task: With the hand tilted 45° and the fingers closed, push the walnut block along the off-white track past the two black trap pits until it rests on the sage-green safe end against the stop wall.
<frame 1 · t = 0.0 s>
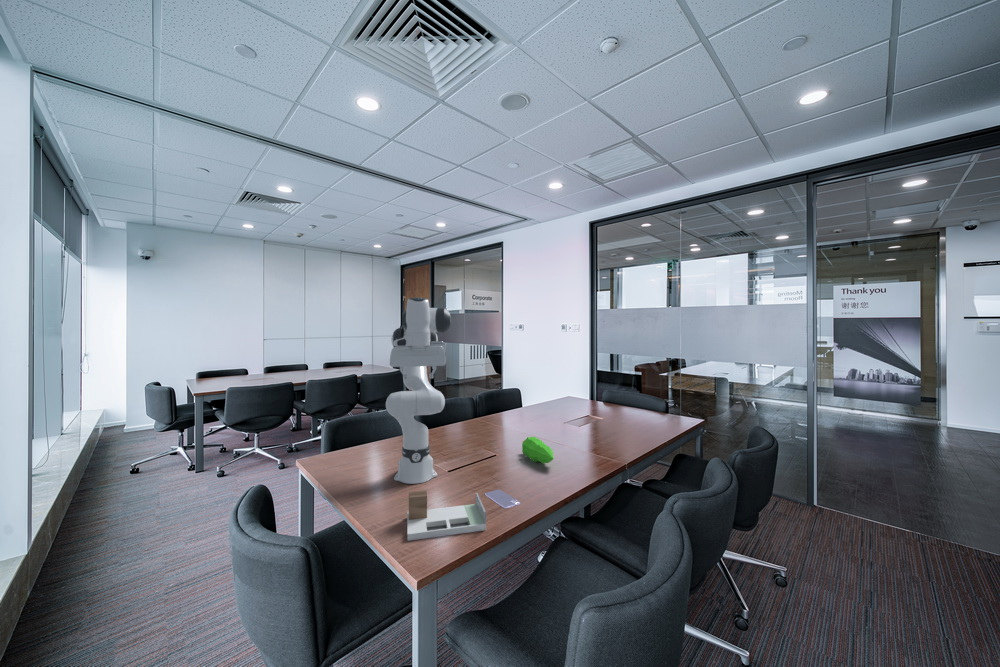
hand: (418, 378, 136), 48 cm above the table, tool pointing down, fingers open, 8 cm apart
mobile phone: (502, 500, 145), on the table
walnut block: (417, 515, 127), point 2 cm above the table, touching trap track
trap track: (445, 523, 126), on the table
green faceted blob: (537, 462, 186), on the table
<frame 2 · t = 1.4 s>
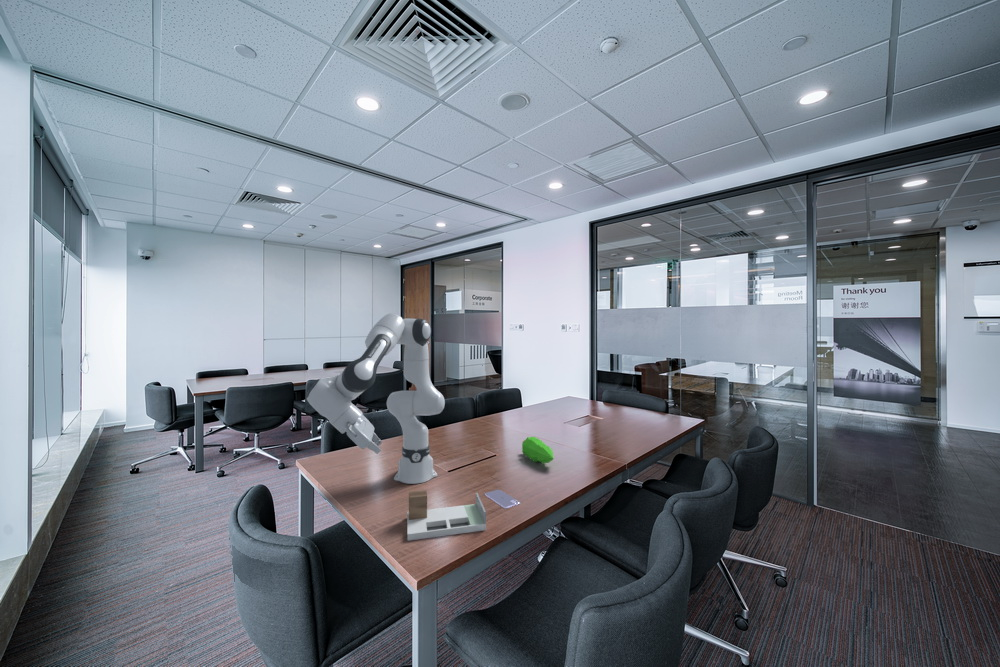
hand: (379, 447, 124), 26 cm above the table, tool tilted 45°, fingers open, 8 cm apart
nothing on the table moved.
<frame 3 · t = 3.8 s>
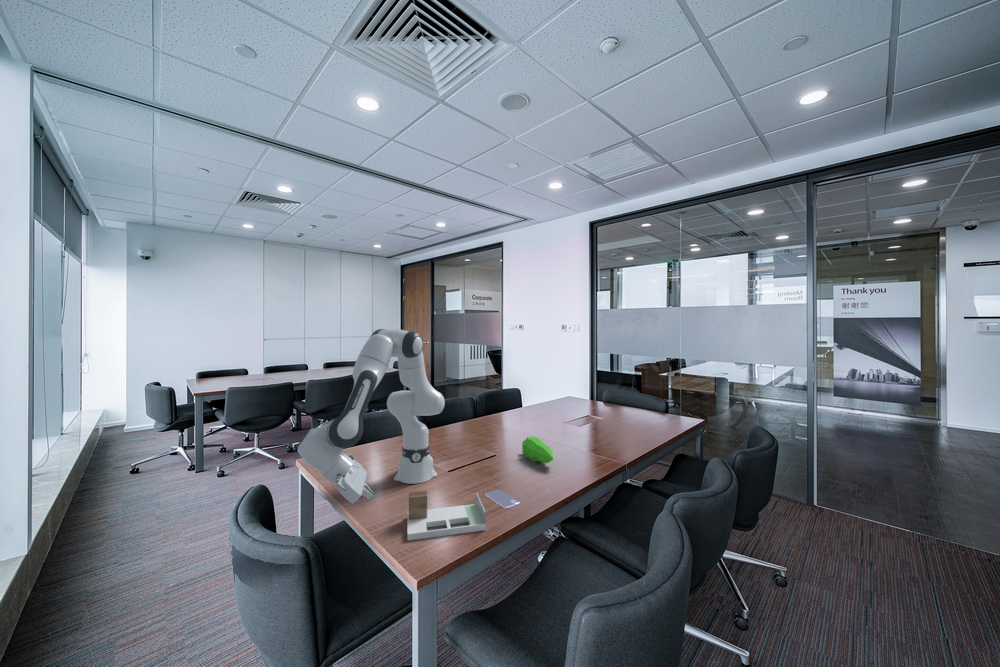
hand: (371, 496, 124), 10 cm above the table, tool tilted 45°, fingers closed
nothing on the table moved.
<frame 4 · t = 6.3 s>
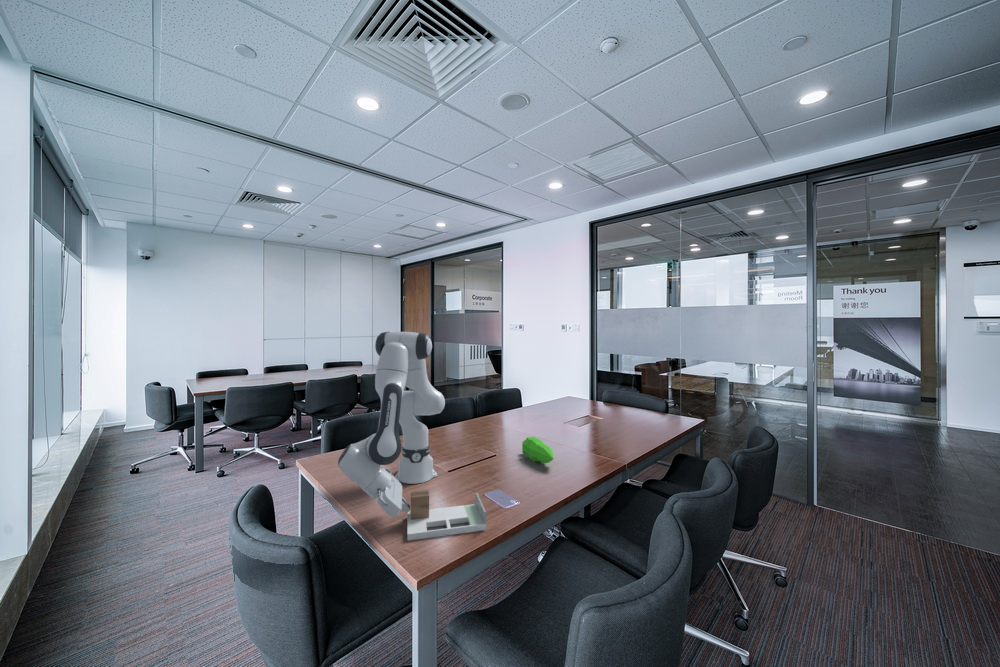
hand: (408, 509, 127), 4 cm above the table, tool tilted 45°, fingers closed, pressing on walnut block
walnut block: (419, 515, 127), point 2 cm above the table, touching gripper
everything else where it was.
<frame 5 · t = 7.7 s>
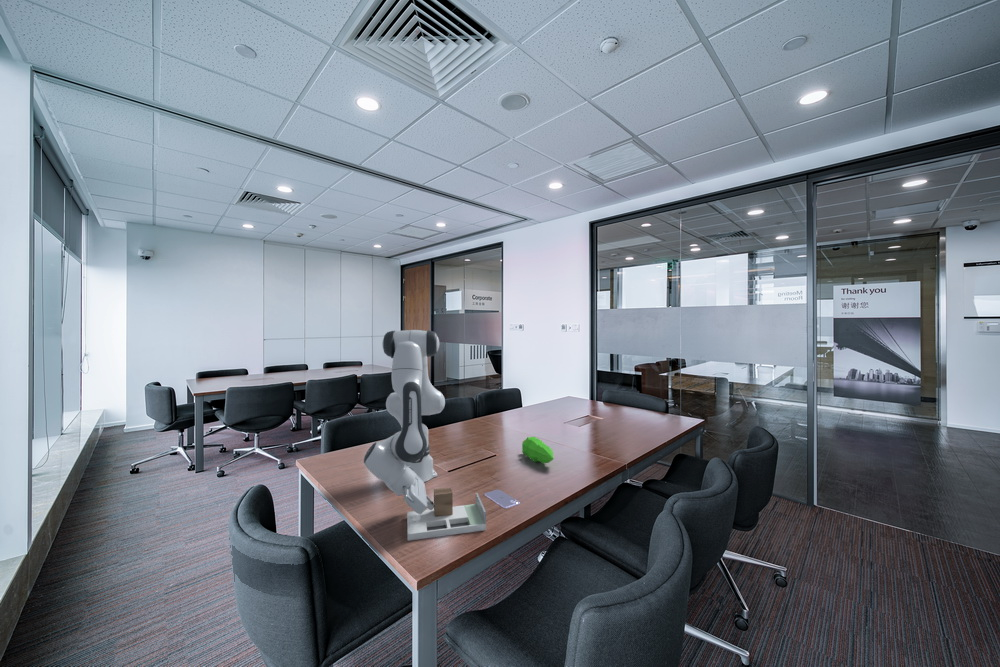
hand: (432, 506, 128), 4 cm above the table, tool tilted 45°, fingers closed, pressing on walnut block
walnut block: (443, 512, 129), point 2 cm above the table, touching gripper
everything else where it was.
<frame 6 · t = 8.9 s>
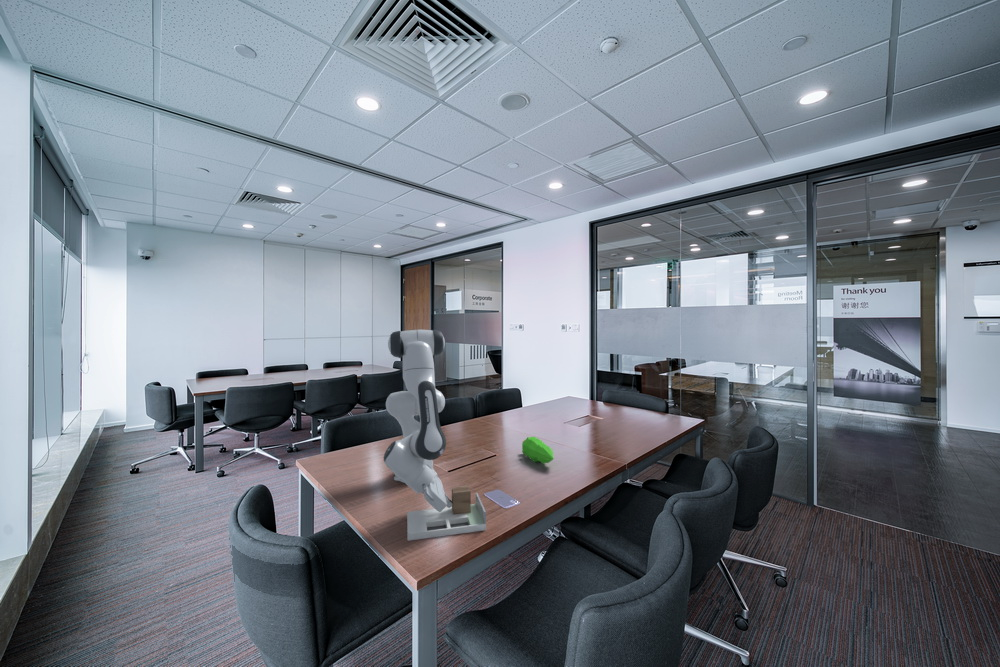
hand: (450, 504, 130), 4 cm above the table, tool tilted 45°, fingers closed, pressing on walnut block
walnut block: (461, 510, 131), point 2 cm above the table, touching gripper
everything else where it was.
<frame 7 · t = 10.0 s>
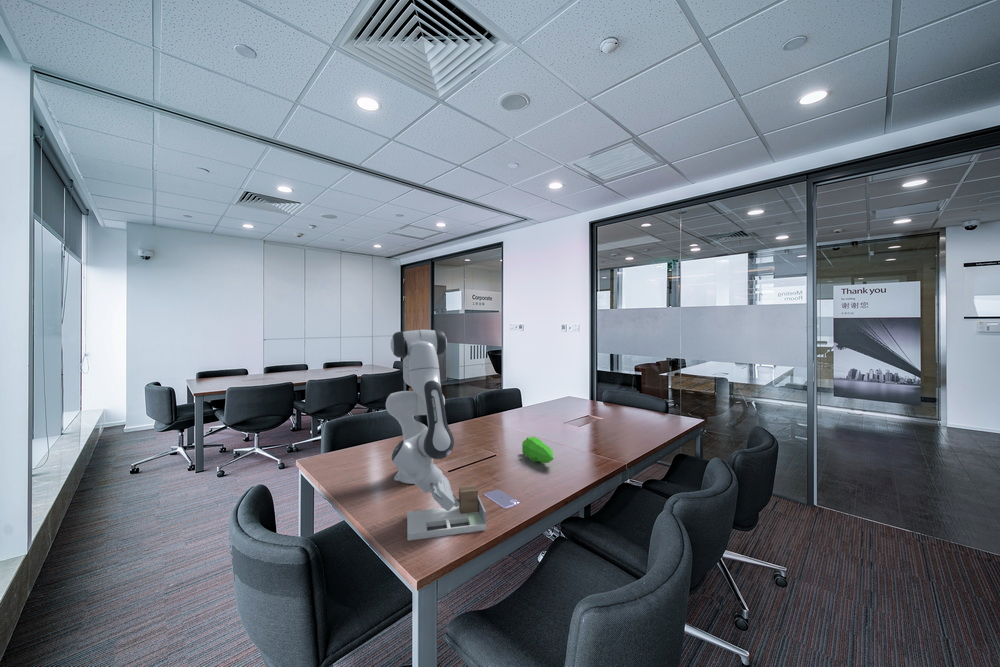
hand: (458, 503, 131), 4 cm above the table, tool tilted 45°, fingers closed, pressing on walnut block
walnut block: (468, 509, 131), point 2 cm above the table, touching gripper, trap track
everything else where it was.
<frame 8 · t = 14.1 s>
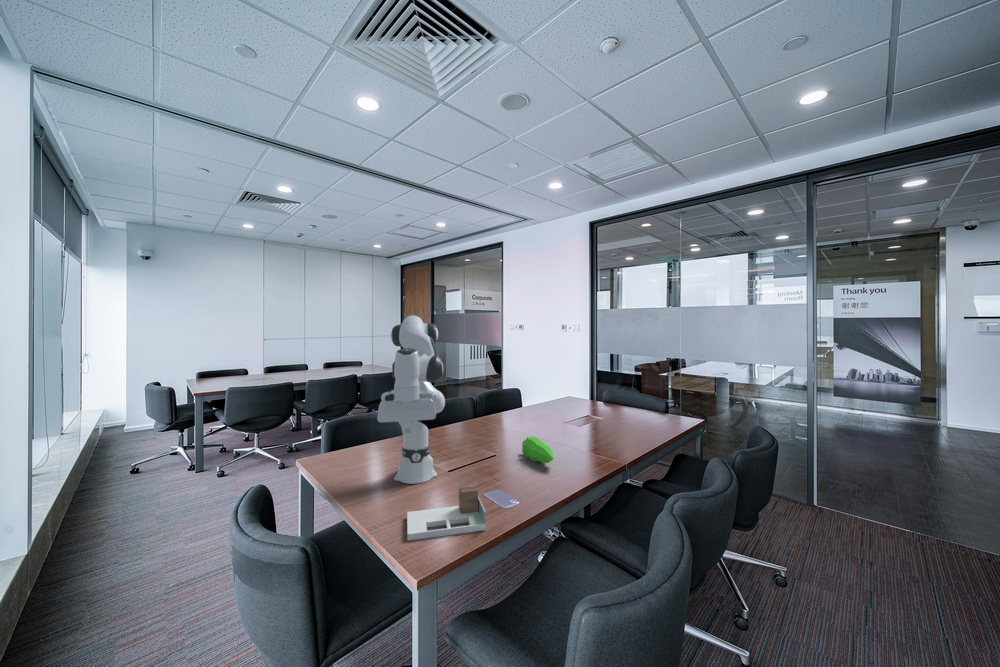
hand: (407, 433, 132), 29 cm above the table, tool pointing down, fingers closed
walnut block: (468, 509, 132), point 2 cm above the table, touching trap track
everything else where it was.
at the end: walnut block 0.4 cm from the target spot on the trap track, point 2.0 cm above the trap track's base; walnut block tilted 0° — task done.
